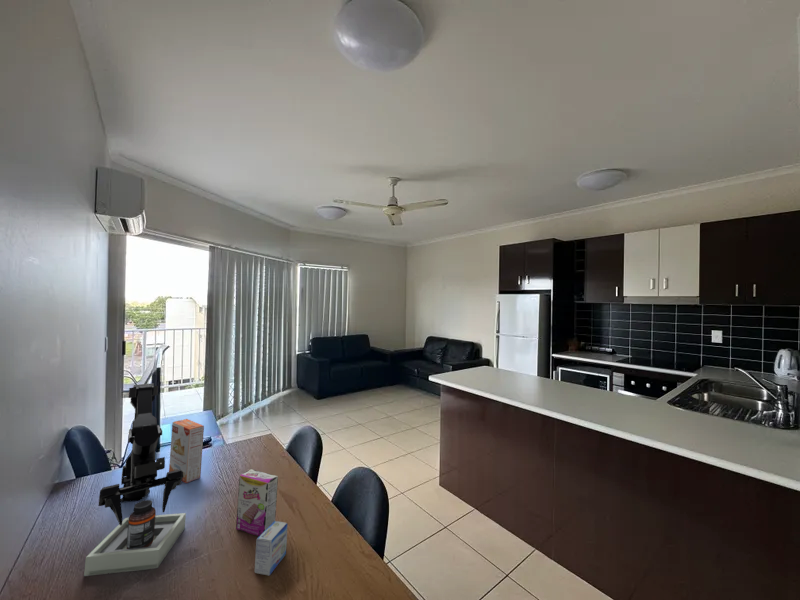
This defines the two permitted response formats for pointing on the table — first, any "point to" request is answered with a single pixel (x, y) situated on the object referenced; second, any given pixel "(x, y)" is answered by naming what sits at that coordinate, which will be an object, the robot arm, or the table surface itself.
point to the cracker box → (186, 449)
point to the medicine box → (270, 548)
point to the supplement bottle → (141, 525)
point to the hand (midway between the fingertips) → (143, 518)
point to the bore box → (120, 559)
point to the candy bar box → (256, 501)
